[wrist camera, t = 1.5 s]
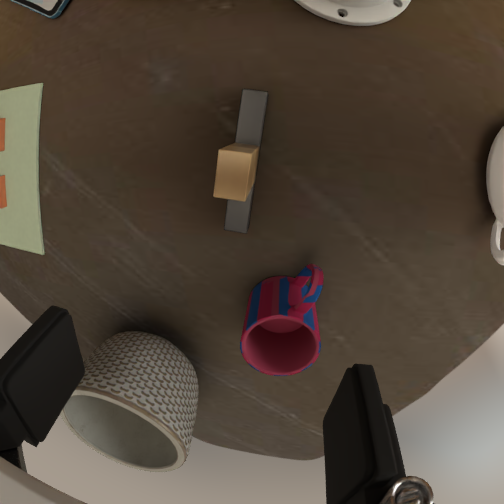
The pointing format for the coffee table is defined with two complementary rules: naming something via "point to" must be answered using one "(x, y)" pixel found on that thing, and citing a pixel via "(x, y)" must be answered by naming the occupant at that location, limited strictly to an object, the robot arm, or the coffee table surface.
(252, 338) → the cup
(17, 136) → the mat
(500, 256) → the teapot
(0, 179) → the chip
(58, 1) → the smartphone
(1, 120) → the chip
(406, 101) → the coffee table surface
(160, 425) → the planter
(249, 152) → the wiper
